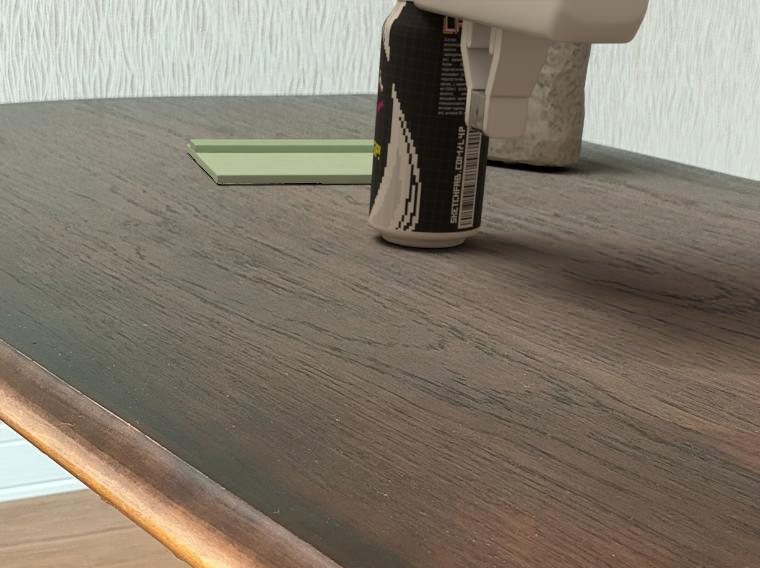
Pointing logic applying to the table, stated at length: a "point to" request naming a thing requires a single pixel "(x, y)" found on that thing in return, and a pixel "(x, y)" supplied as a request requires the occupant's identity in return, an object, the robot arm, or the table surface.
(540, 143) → the decorative stone
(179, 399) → the table surface
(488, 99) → the robot arm
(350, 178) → the green tray
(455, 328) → the table surface
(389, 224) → the beverage can
